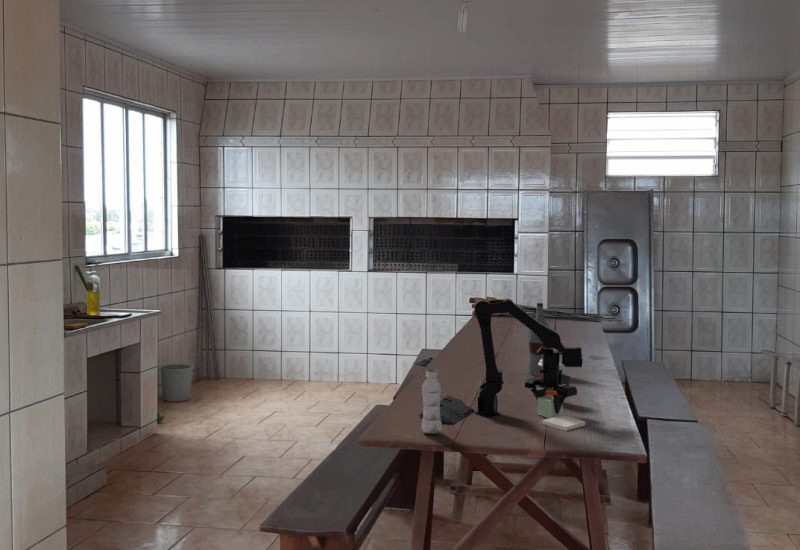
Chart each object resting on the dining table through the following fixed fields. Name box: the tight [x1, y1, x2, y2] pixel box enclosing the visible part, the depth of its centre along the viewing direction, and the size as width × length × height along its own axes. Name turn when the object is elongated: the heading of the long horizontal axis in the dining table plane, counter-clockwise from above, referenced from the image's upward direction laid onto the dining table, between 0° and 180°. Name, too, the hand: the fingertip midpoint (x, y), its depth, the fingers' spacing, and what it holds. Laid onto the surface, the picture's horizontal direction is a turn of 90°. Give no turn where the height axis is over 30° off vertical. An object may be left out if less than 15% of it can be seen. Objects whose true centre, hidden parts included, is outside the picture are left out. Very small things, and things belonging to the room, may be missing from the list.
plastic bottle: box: [421, 369, 443, 435], centre depth 257 cm, size 6×7×20 cm
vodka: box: [527, 302, 550, 377], centre depth 341 cm, size 9×9×30 cm
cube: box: [536, 395, 564, 419], centre depth 278 cm, size 6×6×6 cm
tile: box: [541, 414, 586, 432], centre depth 267 cm, size 10×10×1 cm
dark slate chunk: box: [419, 395, 475, 425], centre depth 279 cm, size 15×22×5 cm
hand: (549, 411), depth 278 cm, fingers closed on cube, 6 cm apart
